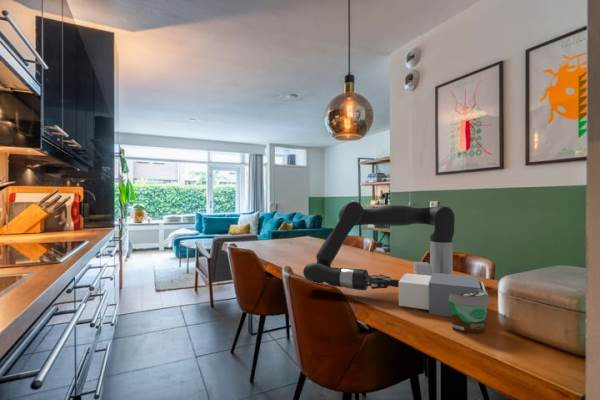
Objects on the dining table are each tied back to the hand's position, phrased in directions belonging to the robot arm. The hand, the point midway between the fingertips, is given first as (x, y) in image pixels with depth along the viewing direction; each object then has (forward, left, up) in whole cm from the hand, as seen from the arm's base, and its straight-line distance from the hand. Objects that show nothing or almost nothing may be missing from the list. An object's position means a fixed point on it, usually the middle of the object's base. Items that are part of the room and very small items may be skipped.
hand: (402, 283), depth 107 cm
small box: (-15, +14, -7) cm, 21 cm away
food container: (+25, +10, -7) cm, 28 cm away
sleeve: (+8, +14, -6) cm, 18 cm away
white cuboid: (+6, +11, -6) cm, 14 cm away
